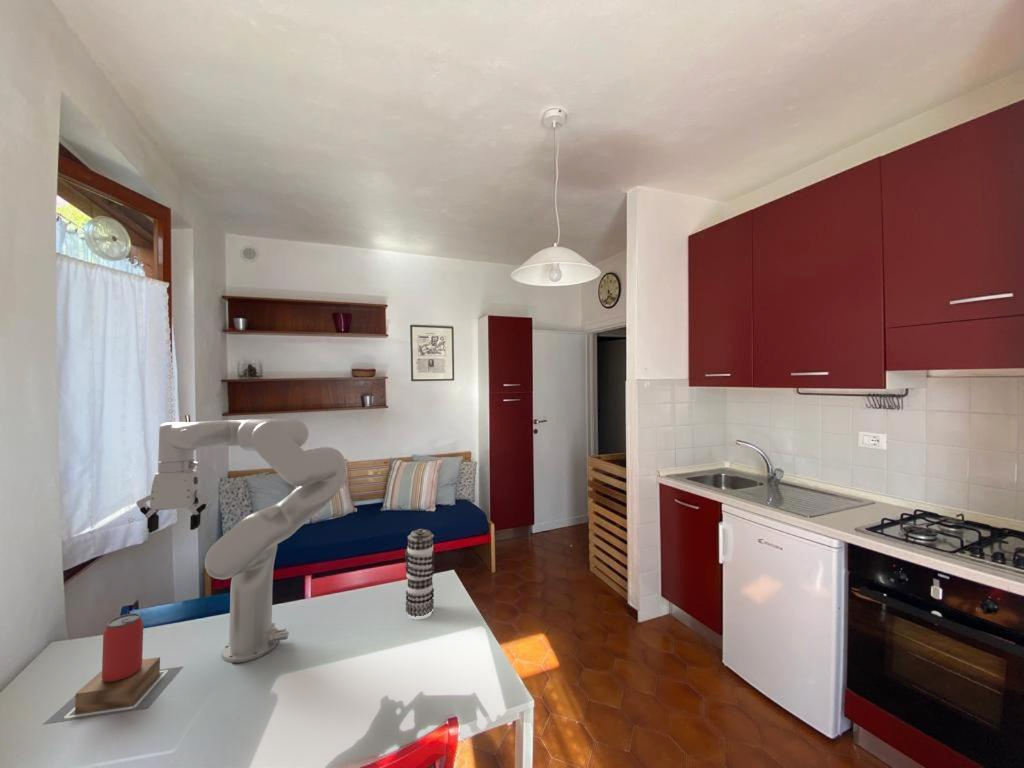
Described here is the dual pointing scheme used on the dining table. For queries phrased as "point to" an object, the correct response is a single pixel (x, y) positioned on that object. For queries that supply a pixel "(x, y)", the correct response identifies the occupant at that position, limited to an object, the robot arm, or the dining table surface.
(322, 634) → the dining table surface
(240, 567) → the robot arm
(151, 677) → the walnut base block
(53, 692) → the dining table surface
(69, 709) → the grey mat
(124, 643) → the beer can
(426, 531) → the decorative candle
